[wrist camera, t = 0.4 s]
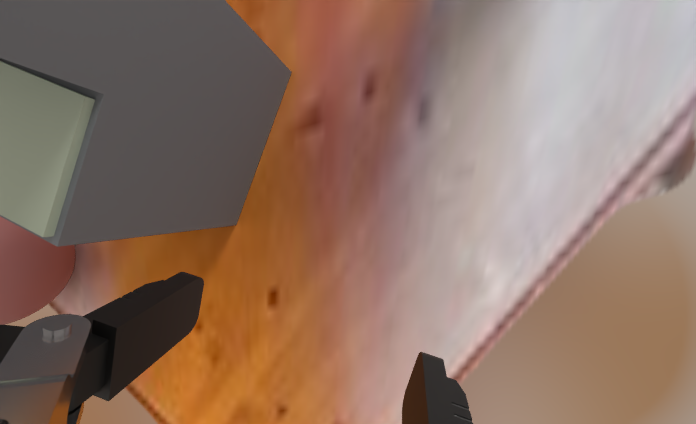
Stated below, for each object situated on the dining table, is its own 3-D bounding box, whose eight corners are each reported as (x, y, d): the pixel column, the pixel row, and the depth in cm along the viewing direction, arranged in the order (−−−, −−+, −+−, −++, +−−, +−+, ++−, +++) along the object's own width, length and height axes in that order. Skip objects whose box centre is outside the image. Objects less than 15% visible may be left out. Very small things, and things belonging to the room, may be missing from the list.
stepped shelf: (208, 43, 41) (-447, -468, 10) (291, 72, 39) (-205, -461, 8) (159, 190, 43) (-517, 154, 12) (236, 225, 41) (-339, 294, 10)
